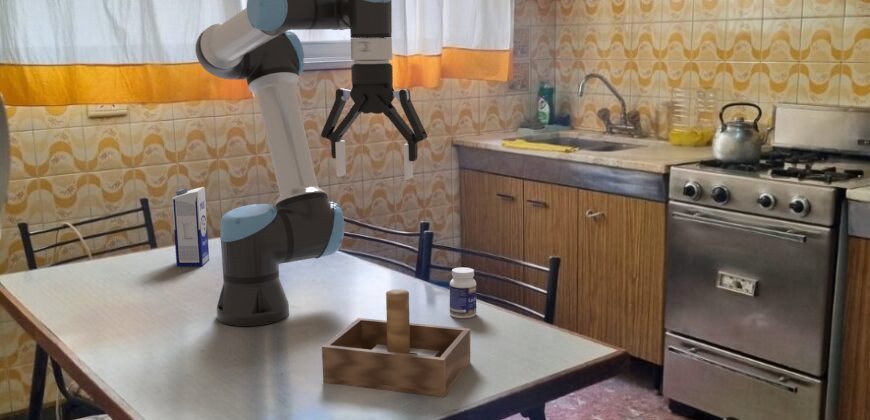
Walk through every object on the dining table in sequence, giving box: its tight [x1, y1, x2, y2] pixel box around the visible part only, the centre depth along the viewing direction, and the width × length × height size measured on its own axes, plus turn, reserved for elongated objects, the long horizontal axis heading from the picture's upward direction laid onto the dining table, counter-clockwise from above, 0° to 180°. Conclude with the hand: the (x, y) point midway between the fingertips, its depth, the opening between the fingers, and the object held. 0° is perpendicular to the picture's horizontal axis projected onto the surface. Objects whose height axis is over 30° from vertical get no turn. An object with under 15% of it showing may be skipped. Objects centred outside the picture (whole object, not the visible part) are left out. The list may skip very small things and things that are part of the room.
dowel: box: [385, 288, 411, 354], centre depth 156 cm, size 4×4×14 cm
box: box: [321, 317, 471, 398], centre depth 157 cm, size 22×16×6 cm
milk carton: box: [171, 186, 210, 268], centre depth 231 cm, size 7×7×20 cm
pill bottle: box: [449, 267, 477, 319], centre depth 188 cm, size 6×6×10 cm
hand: (374, 177), depth 166 cm, fingers open, 13 cm apart
